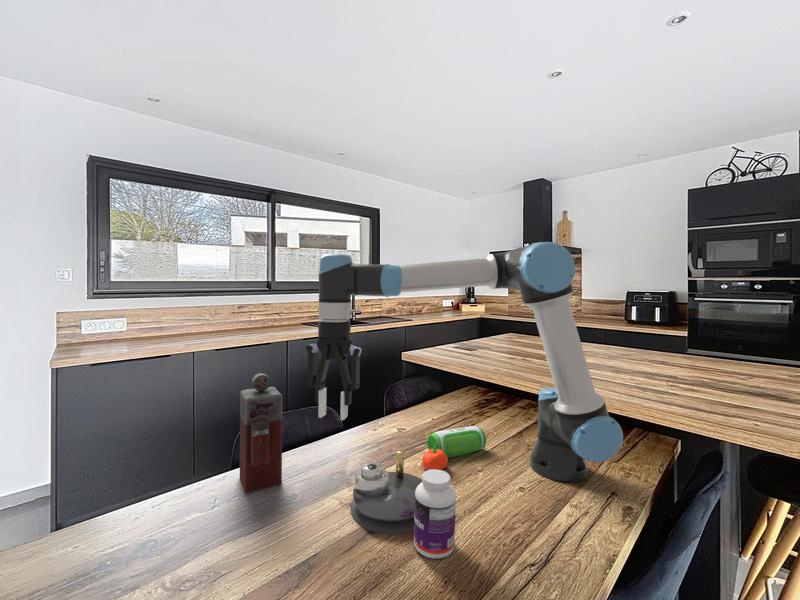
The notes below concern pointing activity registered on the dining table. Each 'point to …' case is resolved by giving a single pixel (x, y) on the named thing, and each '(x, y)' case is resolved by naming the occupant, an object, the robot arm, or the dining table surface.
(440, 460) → the pumpkin
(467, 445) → the speaker
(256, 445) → the vintage gas pump
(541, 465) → the robot arm
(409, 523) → the turntable base
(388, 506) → the turntable
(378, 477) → the cover
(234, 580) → the dining table surface
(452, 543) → the pill bottle
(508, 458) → the dining table surface
